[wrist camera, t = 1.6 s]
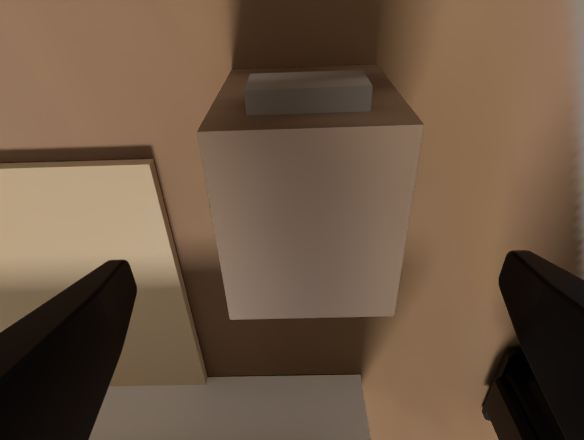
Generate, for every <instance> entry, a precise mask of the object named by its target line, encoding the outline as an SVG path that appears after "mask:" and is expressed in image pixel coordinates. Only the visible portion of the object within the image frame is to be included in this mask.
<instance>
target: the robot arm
mask: <svg viewBox="0 0 584 440" xmlns="http://www.w3.org/2000/svg"><path fill="white" fill-rule="evenodd" d="M499 287H500V290H501V293H502V296H503V299H504V302H505V304H506V307H507V310H508V313H509V316H510V318H511V321H512V324H513V327H514V330H515V333H516V335H517V338H518V341H519V343H520V345H521V347H513V348H510V349H509V350H507V351H506V353H505V355H504V357H503V360H502V362H501V365H500V367H499V370H498V372H497V374H496V377H495V379H494V382H493V384H492V387H491V389H490V392H489V394H488V396H487V399H486V401H485V404H484V406H483V409H482V413H483V415H484V418H485V419H486V420H490V421H491V422H492V425H493V427H494V429H495V432H496V434H497V436H498V439H499V440H584V280H582V279H580V278H578V277H576V276H575V275H573V274H571V273H569V272H567V271H565V270H564V269H562V268H560V267H558V266H556V265H554V264H553V263H551V262H549V261H547V260H545V259H543V258H541V257H540V256H538V255H536V254H534V253H532V252H530V251H527V250H516V251H510V252H508V254H507V255H506V258H505V261H504V264H503V267H502V270H501V273H500V276H499ZM136 295H137V285H136V282H135V279H134V276H133V273H132V270H131V267H130V264H129V262H128V261H127V260H124V259H123V260H108V261H107V262H105V263H104V264H102V265H101V266H99V267H98V268H96V269H95V270H93V271H92V272H90V273H89V274H87V275H86V276H84V277H83V278H81V279H80V280H78V281H77V282H75V283H74V284H72V285H71V286H69V287H68V288H66V289H65V290H63V291H62V292H60V293H59V294H57V295H56V296H54V297H53V298H51V299H50V300H48V301H47V302H45V303H44V304H42V305H41V306H39V307H38V308H36V309H35V310H33V311H32V312H30V313H29V314H27V315H26V316H24V317H23V318H21V319H20V320H18V321H17V322H15V323H14V324H12V325H11V326H9V327H8V328H6V329H5V330H3V331H2V332H0V440H89V437H90V435H91V432H92V429H93V427H94V424H95V422H96V419H97V416H98V414H99V411H100V408H101V406H102V403H103V400H104V398H105V395H106V393H107V390H108V387H109V385H110V382H111V379H112V377H113V374H114V372H115V369H116V366H117V364H118V361H119V358H120V355H121V352H122V349H123V346H124V342H125V338H126V334H127V331H128V327H129V323H130V319H131V315H132V311H133V307H134V303H135V299H136Z"/></svg>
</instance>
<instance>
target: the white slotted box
mask: <svg viewBox="0 0 584 440" xmlns="http://www.w3.org/2000/svg"><path fill="white" fill-rule="evenodd" d="M123 259H124V260H127V261H128V262H129V264H130V267H131V270H132V273H133V276H134V279H135V282H136V285H137V295H136V299H135V303H134V307H133V311H132V315H131V319H130V323H129V327H128V331H127V334H126V338H125V342H124V346H123V349H122V352H121V355H120V358H119V361H118V364H117V366H116V369H115V372H114V374H113V377H112V379H111V382H110V385H109V387H108V390H107V393H106V395H105V398H104V400H103V403H102V406H101V408H100V411H99V414H98V416H97V419H96V422H95V424H94V427H93V429H92V432H91V435H90V437H89V440H371V438H370V431H369V425H368V419H367V412H366V406H365V400H364V394H363V387H362V381H361V375H306V376H244V377H207V374H206V370H205V366H204V361H203V357H202V353H201V349H200V345H199V341H198V337H197V333H196V329H195V325H194V321H193V317H192V313H191V309H190V305H189V301H188V297H187V293H186V289H185V285H184V281H183V277H182V273H181V269H180V265H179V261H178V257H177V253H176V249H175V245H174V241H173V237H172V233H171V229H170V225H169V221H168V217H167V213H166V209H165V205H164V201H163V197H162V193H161V189H160V185H159V181H158V177H157V173H156V169H155V165H154V161H153V159H133V160H100V161H66V162H32V163H0V332H2V331H3V330H5V329H6V328H8V327H9V326H11V325H12V324H14V323H15V322H17V321H18V320H20V319H21V318H23V317H24V316H26V315H27V314H29V313H30V312H32V311H33V310H35V309H36V308H38V307H39V306H41V305H42V304H44V303H45V302H47V301H48V300H50V299H51V298H53V297H54V296H56V295H57V294H59V293H60V292H62V291H63V290H65V289H66V288H68V287H69V286H71V285H72V284H74V283H75V282H77V281H78V280H80V279H81V278H83V277H84V276H86V275H87V274H89V273H90V272H92V271H93V270H95V269H96V268H98V267H99V266H101V265H102V264H104V263H105V262H107V261H108V260H123Z"/></svg>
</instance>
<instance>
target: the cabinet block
mask: <svg viewBox="0 0 584 440" xmlns="http://www.w3.org/2000/svg"><path fill="white" fill-rule="evenodd" d="M423 128H424V124H423V123H422V121H421V120H420V119H419V118H418V116H417V115H416V114H415V112H414V111H413V110H412V109H411V107H410V106H409V105H408V104H407V102H406V101H405V100H404V99H403V97H402V96H401V95H400V94H399V92H398V91H397V90H396V88H395V87H394V86H393V85H392V83H391V82H390V81H389V80H388V78H387V77H386V76H385V75H384V73H383V72H382V71H381V69H380V68H379V67H378V66H377V64H372V65H343V66H314V67H286V68H257V69H232V70H231V72H230V74H229V75H228V77H227V79H226V81H225V83H224V84H223V86H222V88H221V90H220V92H219V93H218V95H217V97H216V99H215V101H214V102H213V104H212V106H211V108H210V109H209V111H208V113H207V115H206V117H205V118H204V120H203V122H202V124H201V126H200V127H199V129H198V131H197V135H198V141H199V146H200V152H201V158H202V163H203V169H204V175H205V181H206V186H207V192H208V198H209V203H210V209H211V215H212V221H213V226H214V232H215V238H216V243H217V249H218V255H219V261H220V266H221V272H222V278H223V283H224V289H225V295H226V301H227V306H228V312H229V318H230V320H242V319H288V318H334V317H379V316H394V315H395V308H396V302H397V296H398V289H399V283H400V276H401V270H402V263H403V257H404V251H405V244H406V238H407V231H408V225H409V218H410V212H411V206H412V199H413V193H414V186H415V180H416V173H417V167H418V161H419V154H420V148H421V141H422V135H423Z"/></svg>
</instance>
